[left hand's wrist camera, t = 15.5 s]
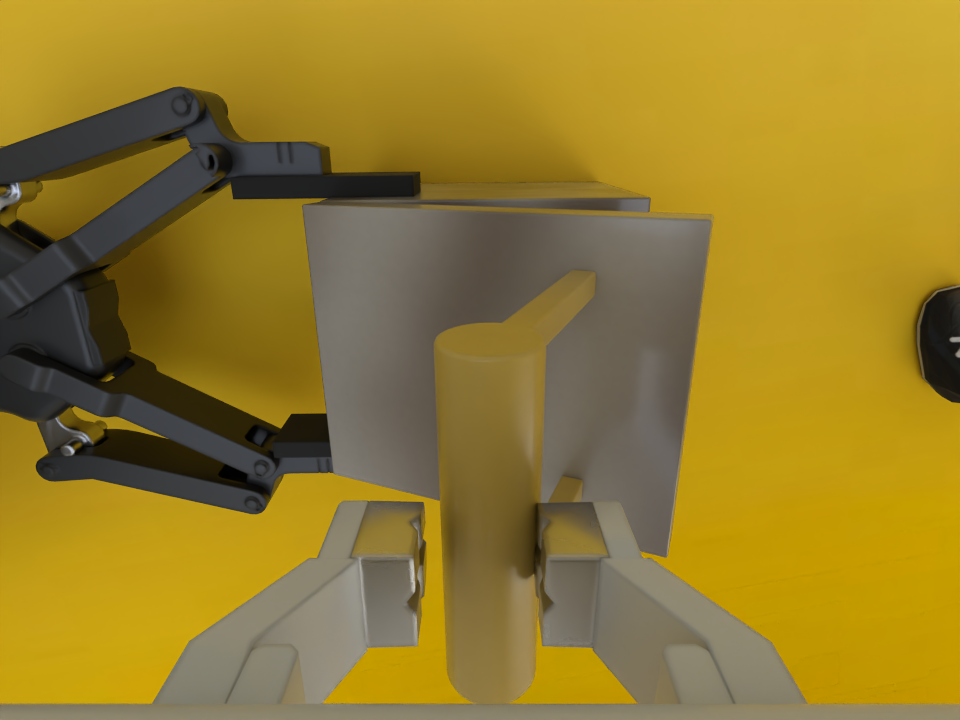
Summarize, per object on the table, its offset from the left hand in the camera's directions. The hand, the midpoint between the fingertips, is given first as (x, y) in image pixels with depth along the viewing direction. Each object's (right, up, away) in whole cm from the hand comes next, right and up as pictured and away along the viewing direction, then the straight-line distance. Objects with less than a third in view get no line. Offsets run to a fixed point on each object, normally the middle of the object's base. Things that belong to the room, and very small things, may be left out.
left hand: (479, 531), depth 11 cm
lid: (0, +3, +8) cm, 9 cm away
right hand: (-2, +5, +13) cm, 14 cm away
